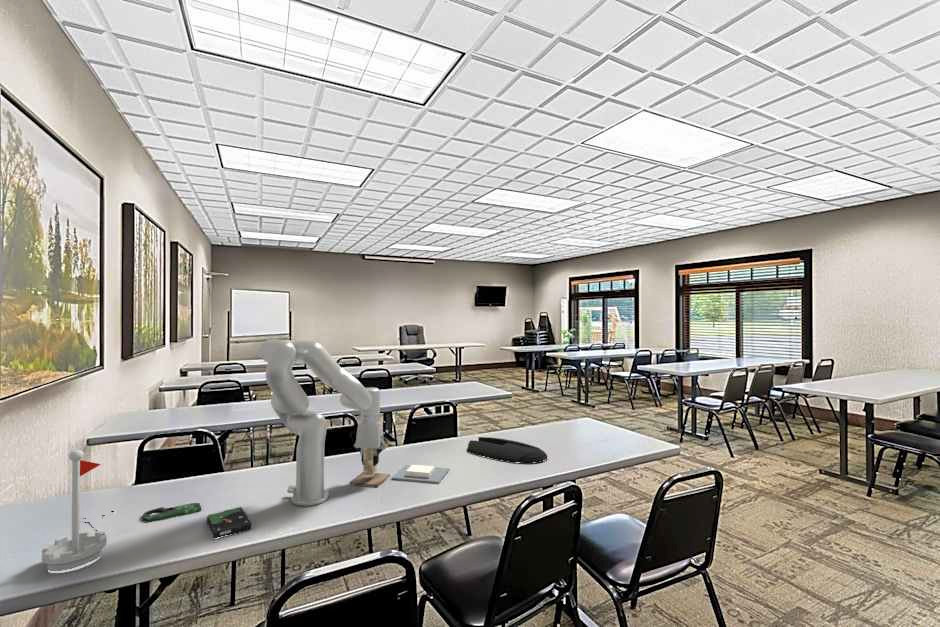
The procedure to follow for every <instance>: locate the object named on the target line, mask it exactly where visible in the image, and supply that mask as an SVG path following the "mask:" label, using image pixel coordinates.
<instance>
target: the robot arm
mask: <svg viewBox="0 0 940 627" xmlns="http://www.w3.org/2000/svg"><path fill="white" fill-rule="evenodd" d="M258 354H259V356H260V358H261V360H262V361H264V362H265V363H267V364H266V368H265V380H266V383H267V385H268V387H269V389H270V390H271V392H272V393H271V396H270V405H271V407H272V409H273V411H274V412H275V413H276V415H277V417H278V418H279V419H280V421H281V422H282V423H283V425H284V426H285V428H286V429H287V430H288V431H289V432H291V433H293V434H295V435H297V436H298V437H299V438H298V442H297V444H296V453H295V454H296V455H295V457H296V460H295V461H296V462H295V463H296V465H295V466H296V468H295V469H296V470H295V472H296V474H295V476H296V477H295V478H296V480H295V482H296V483H295V485H293V484H289V486H288V488H287V490H286V492H287V493H288V494H293V495H292V497H291V501H290V502H291V504H293V505H295V506H298V507H309V506H316V505H320V504H322V503H324V502H325V501H327V500H328V498H329V492H328V491H326V490H325V442H326V435H327V431H328V430H327V429H328V425H327V424H328V423H327V420H326V418H325V417H324V415H323V414H321V413H320V412H319V411H318V412H317V411H314V410H311V409H309V405H310V399H309V397H308V394H307V393H306V392H305V391H304V389H303V388H302V386H301V385H300V383H299V382H298V380H297V378H296V377H295V375H294V373H293V364H305V366H307V367H308V368H309V369H310V370H311V372H313V373H314V375H315V376H316V377H317V378H318V379H319V380H320V381H321V383H323V384H324V385H326V386H327V387H329V388H331V389H333V390H336V391H337V392H339V393H340V396H339V402H340V404H341V405H342V407H344V408H346V409H349V410H355V411H357V412H360V414H358V416H357V419H360V421H359V422H358V424H357V428H356V429H357V430H356V438H355V439H356V440H355V442H354V444H353V447H354V448H355V449H356V450H357V451H358V452H359V453H360V456H361V460H360V461H361V465H362V466H363V453H364V448H369V449H374V456H373V465H374V466H375V465H377V466H378V464H379V462H380V454H381V453H382V451H384V450H386V449H387V448H388V446H387V444H386V442H385V441H384V430H383V424H382V422H381V418H380V417H381V392H380V389H379V388H378V387H365V386H364V385H363V384H362V383H361V382H360V381H359V380H358V379H357V378H356V377H354V376H353V375H351V374H350V373H349V372H348V371H347V370H346V369H344V368H342V367H341V366H340V364H339V363H338V362H337V361H336V360H335V359H334V358H333V356H332V355H331V354H330V353H329V352H328V351H327V349H325V347H324V346H323V345H322V344H320V343H319V342H317V341H314V340H294V339H293V340H290V339H275V338H274V339H273V338H272V339H267V340H265V341H263V342H262V343H261V344H260V346H259V349H258Z"/></svg>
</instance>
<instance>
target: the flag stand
mask: <svg viewBox="0 0 940 627" xmlns="http://www.w3.org/2000/svg"><path fill="white" fill-rule="evenodd" d="M83 457H84V452H83V451H82V450H80V449H74V450H72V451H71V452H70V453H69V455H68V458H69V460H70V461H72V464H71V466H72V475H71V477H72V478H71V481H72V482H71V484H72V485H71V538H68V536H66V535H65V536H62V537H60V538H57V539H54V544H53V545H52V544H45V546H43V547H42V549H41V562H42V563H44V564H46V570H47V569H48V570H50V571H62V570H67V569H72V568H75V567H78V566H81V565H84V564H86V563H88V562H91V561H93V560H95V559H97V558H98V557H100V556H101V554H102V553H103V551H102V550H103V549H104V548H105V547H106V546H107V543H108V542H107V541H108V540H107V538H108V537H107V534H106V532H105V531H103V530H99V531H95V532H94V534H90V532H91V531H87V530H86V531H85V530H84V531H80V522H79V521H80V519H79V518H80V502H81V501H80V499H81V498H80V497H81V496H80V495H81V494H80V492H81V490H80V489H81V486H80V484H81V483H80V482H81V481H80V480H81V477H82V476H83V475H85V474H87V473H88V472H91V471H92V470H94V469H96V468H97V467H99V466H101V465H102V464H101V463H96V462H92V461H86V460H82V459H83ZM101 557H102V556H101Z"/></svg>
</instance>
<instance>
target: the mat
mask: <svg viewBox="0 0 940 627" xmlns="http://www.w3.org/2000/svg"><path fill="white" fill-rule="evenodd" d="M412 465H413V464H405V465H404V466H403V467H402V468H400V469H399V470H398V471H397V472H396V473H395V474H394V475H393V476H392V477H391V480H392V479H396V480H395V481H402V480H407V481H406V482H413V481H416V482H415V483H425V484H426V483H427V484H428V483H429V484H436V483H437V484H436V485H439V484H440V483H441V482H442V481H443V479H444V478H445V477H446V475H448V473H449V472H450V470H451V469H450V468H448V467H437V466H435V472H434V473H433V474H432V475H431V476H430V477H429V478H425V477H413V476H406V470H407V469H408V468H409V467H411V466H412ZM448 471H449V472H448ZM444 476H445V477H444ZM441 480H442V481H441Z"/></svg>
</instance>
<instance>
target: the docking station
mask: <svg viewBox="0 0 940 627" xmlns="http://www.w3.org/2000/svg"><path fill="white" fill-rule="evenodd" d="M467 450H468V451H467V453H468V452H471V453H474V454H477V455H481V456H485V457H489V458H493V459H498V460H503V461H509V462H523V463H533V462H540V461H543V460H545V459H547V457H548V455H547V453H546V452H545V451H544V450H543V449H541V448H539V447H537V446H535V445H532V444H527V443H525V442H521V441H515V440H512V439H511V440H510V439H505V438H498V437H485V436H484V437H483V436H482V437H481V436H478V440H469V442H468V444H467ZM471 453H470V454H471ZM474 454H473V455H474ZM477 455H476V456H477ZM493 459H492V460H493ZM498 460H497V461H498ZM547 460H548V459H547ZM503 461H502V462H503ZM509 462H508V463H509ZM523 463H522V464H523Z"/></svg>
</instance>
